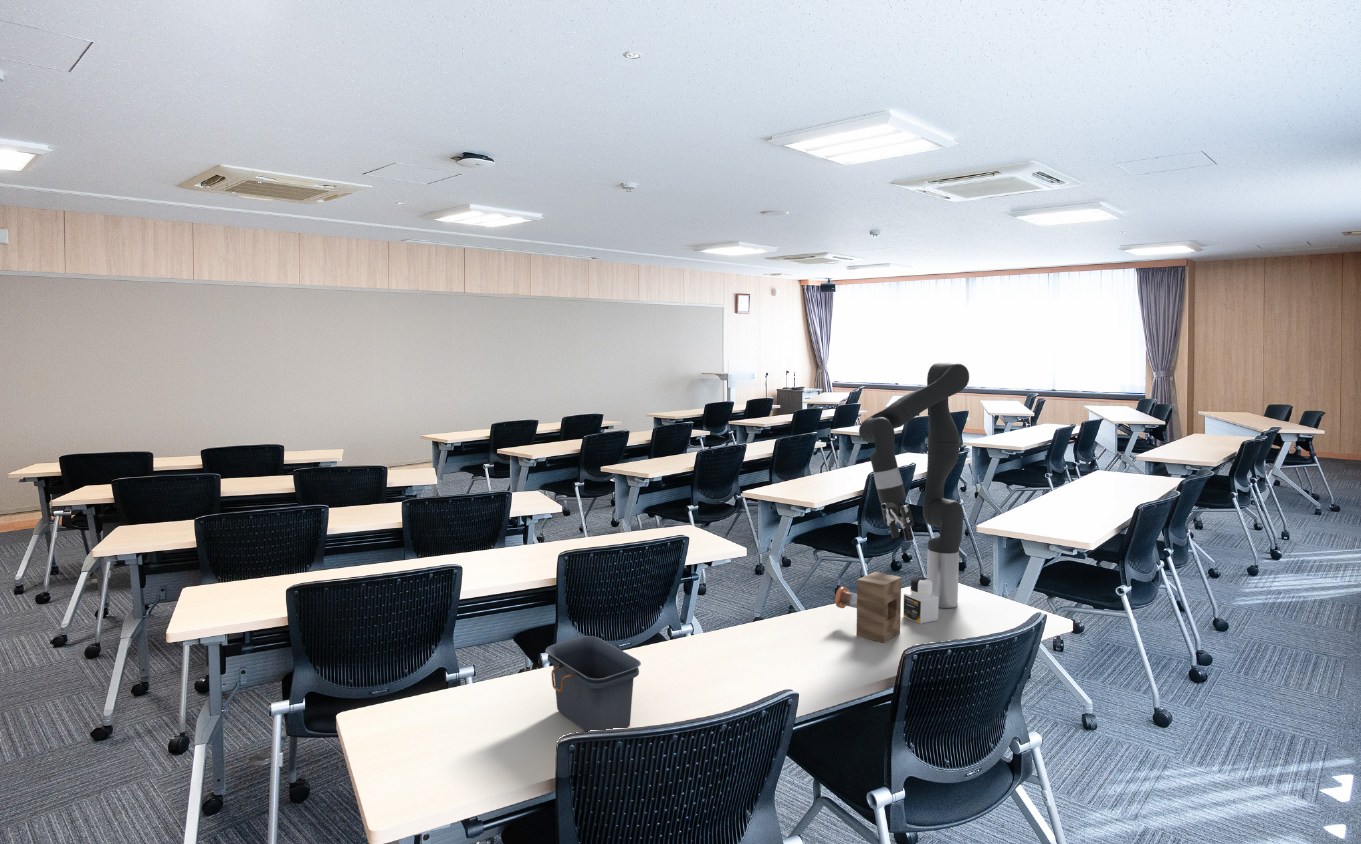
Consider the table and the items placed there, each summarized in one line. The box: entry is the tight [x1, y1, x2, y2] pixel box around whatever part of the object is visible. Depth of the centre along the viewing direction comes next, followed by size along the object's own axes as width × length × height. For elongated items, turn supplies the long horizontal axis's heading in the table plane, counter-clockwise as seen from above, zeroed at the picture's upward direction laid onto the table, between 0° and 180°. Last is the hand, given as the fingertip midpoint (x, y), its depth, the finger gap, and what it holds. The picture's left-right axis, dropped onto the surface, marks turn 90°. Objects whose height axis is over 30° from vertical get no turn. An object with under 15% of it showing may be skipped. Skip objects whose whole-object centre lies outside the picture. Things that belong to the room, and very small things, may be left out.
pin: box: [834, 586, 857, 609], centre depth 211 cm, size 6×13×6 cm, turn 47°
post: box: [855, 571, 902, 644], centre depth 207 cm, size 10×8×16 cm
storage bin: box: [545, 635, 642, 732], centre depth 158 cm, size 21×16×14 cm
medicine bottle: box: [902, 576, 939, 625], centre depth 220 cm, size 7×7×12 cm
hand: (902, 538), depth 217 cm, fingers open, 8 cm apart
